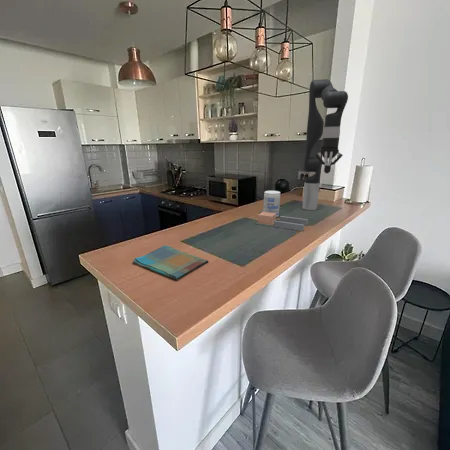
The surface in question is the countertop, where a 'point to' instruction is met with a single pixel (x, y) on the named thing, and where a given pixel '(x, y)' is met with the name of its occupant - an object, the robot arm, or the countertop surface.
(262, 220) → the block
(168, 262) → the dish towel
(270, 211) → the supplement tub
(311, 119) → the robot arm
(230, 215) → the countertop surface
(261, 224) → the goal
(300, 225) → the chute
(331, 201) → the countertop surface
